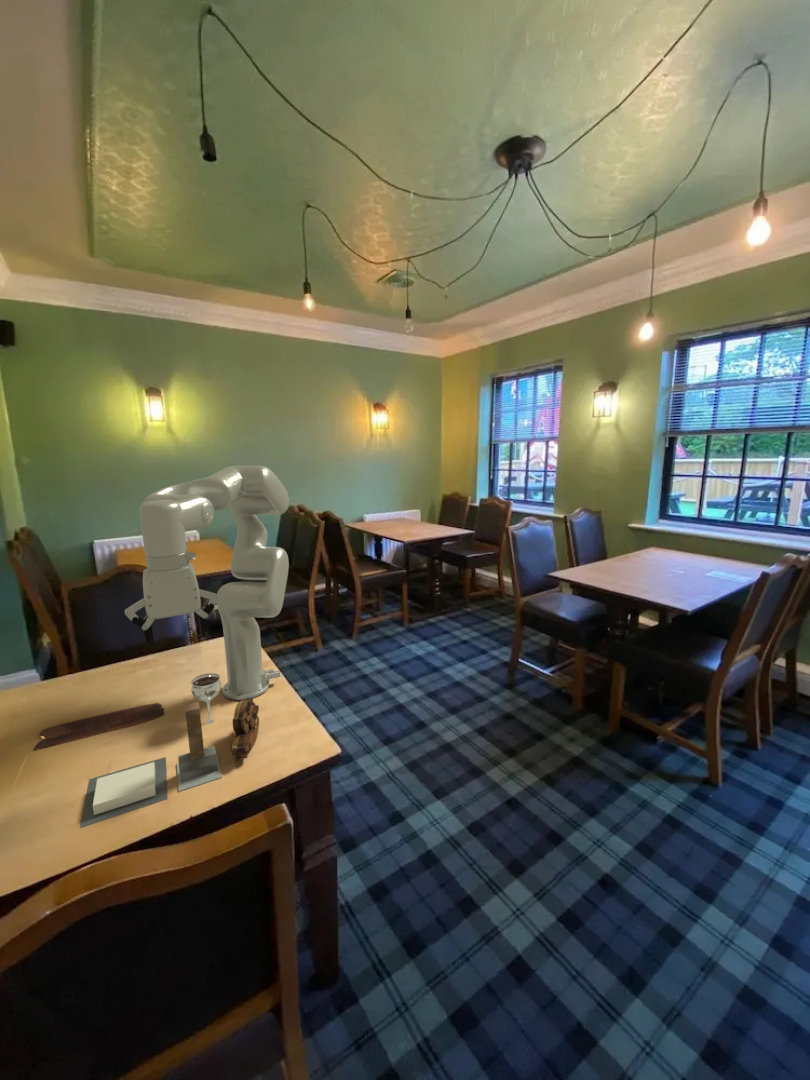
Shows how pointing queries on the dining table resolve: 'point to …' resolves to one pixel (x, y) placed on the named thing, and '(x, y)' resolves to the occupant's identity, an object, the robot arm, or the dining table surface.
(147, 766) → the tile
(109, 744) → the dining table surface
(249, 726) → the wooden carving
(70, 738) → the wooden tablet
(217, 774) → the pad
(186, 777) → the brown grey t-shaped piece
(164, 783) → the rubber mat
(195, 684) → the wineglass
